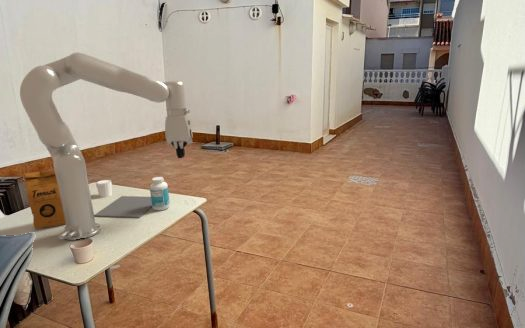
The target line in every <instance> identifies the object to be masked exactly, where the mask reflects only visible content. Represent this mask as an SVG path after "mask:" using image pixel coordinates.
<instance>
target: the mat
mask: <svg viewBox="0 0 525 328" xmlns="http://www.w3.org/2000/svg"><path fill="white" fill-rule="evenodd" d="M150 209H152V201H151V196H137V195H134V196H132V195H129V196H127V195H121V196H120V197H118V198H116V199H115V200H113V202H111V203H109V204H108V205H107V206H105V207H104V208H102V209H101V210H99V211H98V212H96V213H94V218H96V217H97V218H98V217H99V218H100V217H101V218H126V219H127V218H128V219H129V218H130V219H140V218H142V217H143V215H145V214H146V213H147V212H148V211H149V210H150Z"/></svg>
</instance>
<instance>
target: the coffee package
mask: <svg viewBox="0 0 525 328" xmlns="http://www.w3.org/2000/svg"><path fill="white" fill-rule="evenodd" d="M23 178H24V183H25V188H26V192H27V193H26V194H27V195H26V196H27V199H28V203H29V207H30V211H31V215H32V216H33V222H32V223H33V227H34V229H36V230H37V229H42V228H43V229H44V228H49V227H57V226H62V225H66V223H65V218H64V213H63V208H62V203H61V198H60V194H59V188H58V184H57V179H56V175H55V170H54V169H52V170H51V169H48V170H41V171H40V170H39V171H35V172H27V173H26V172H25V173H23Z"/></svg>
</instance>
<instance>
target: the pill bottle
mask: <svg viewBox="0 0 525 328" xmlns="http://www.w3.org/2000/svg"><path fill="white" fill-rule="evenodd" d="M151 182H152V183H151V184H150V185H149V191H150V192H149V193H150V197H151V201H152V207H151V209H153V210H154V211H159V212H160V211H164V210H167V209H169V208H170V206H171V203H170V202H171V201H170V194H169V193H170V192H169V187H168V186H169V185H168V182H166V181H165V179H164V177H163V176H156V177H152V179H151Z"/></svg>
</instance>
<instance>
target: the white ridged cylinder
mask: <svg viewBox="0 0 525 328" xmlns="http://www.w3.org/2000/svg"><path fill="white" fill-rule="evenodd" d="M112 184H113V183H112V180H111V179H102V180H98V181H96V182H95V185H96V189H97V192H98V197H99V198H109V197H111V196H113V190H112V189H113V188H112V187H113V185H112Z"/></svg>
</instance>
